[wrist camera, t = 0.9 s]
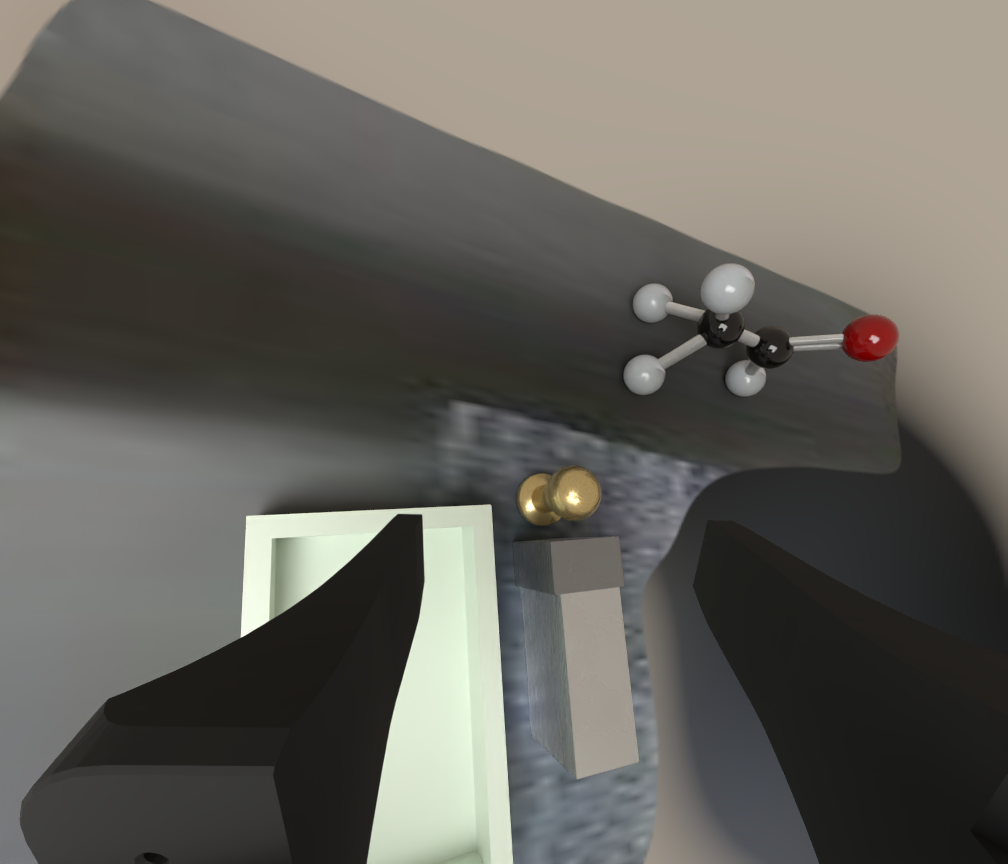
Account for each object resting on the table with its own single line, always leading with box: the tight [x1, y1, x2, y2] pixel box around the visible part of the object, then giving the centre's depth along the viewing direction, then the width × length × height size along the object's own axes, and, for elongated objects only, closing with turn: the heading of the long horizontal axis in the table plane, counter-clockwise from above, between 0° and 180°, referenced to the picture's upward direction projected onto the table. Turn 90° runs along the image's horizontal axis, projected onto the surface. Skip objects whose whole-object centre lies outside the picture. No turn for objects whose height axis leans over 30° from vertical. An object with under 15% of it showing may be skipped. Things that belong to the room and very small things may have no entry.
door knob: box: [516, 466, 602, 526], centre depth 25 cm, size 3×3×6 cm
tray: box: [241, 505, 513, 864], centre depth 21 cm, size 17×11×3 cm, turn 4°
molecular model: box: [623, 264, 899, 397], centre depth 29 cm, size 8×12×11 cm
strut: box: [512, 536, 639, 779], centre depth 24 cm, size 10×4×5 cm, turn 4°
